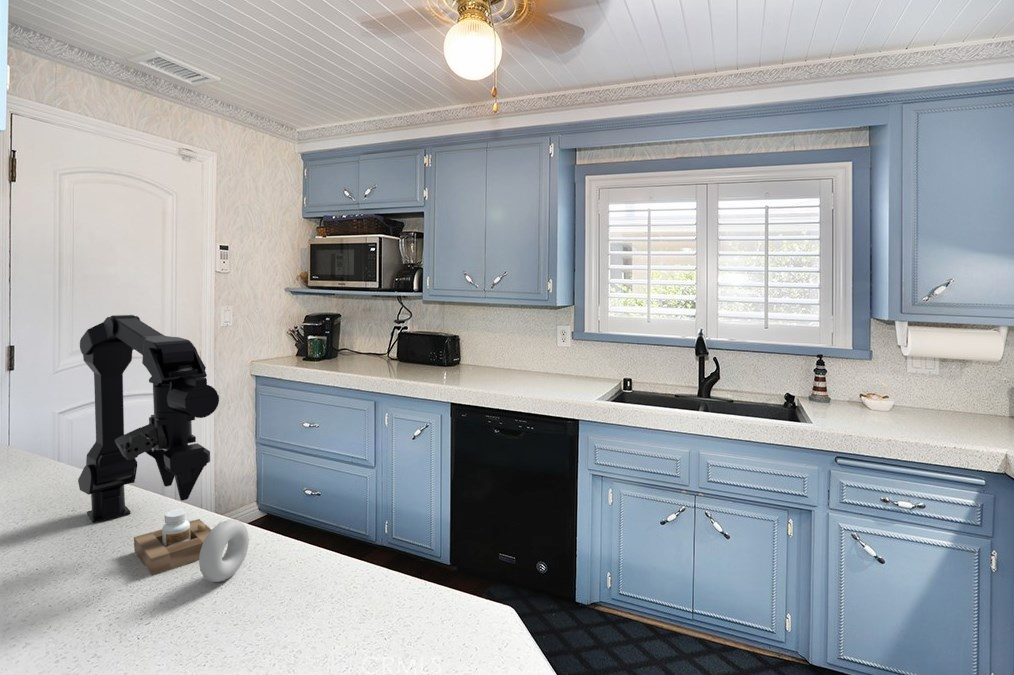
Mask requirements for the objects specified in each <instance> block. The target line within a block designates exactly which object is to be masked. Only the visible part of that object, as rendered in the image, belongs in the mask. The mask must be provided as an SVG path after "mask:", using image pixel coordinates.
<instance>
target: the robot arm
mask: <svg viewBox="0 0 1014 675" xmlns="http://www.w3.org/2000/svg"><path fill="white" fill-rule="evenodd" d="M79 350H80V352H81V354H82V357H83V362H84V363H85V364H86V365H87V367H88V368H89V369H90V370H91V371H92V373H93V381H94V383H93V384H94V414H95V415H94V416H95V417H94V418H95V419H94V420H95V442H94V444H93V446H92V447H91V448H90V450H89V451H88V452H87V453H86V459H85V460H86V461H85V462H86V463H85V466H84V467H83V469H82V471H81V473H80V475H79V477H78V480H77V483H78V487H79V489H78V490H80V491H81V492H83V493H85V494H87V495H88V496H89V495H90V498H91V501H90V502H91V503H90V504H91V510H88V511H87V512H86V514H87V516H88V517H89V519H90V520H91V521H92V523H99V522H103V521H106V520H110V519H115V518H119V517H124V516H127V515H130V514H131V510H130V509H129V508H128V506H126V496H125V485H129V484H134V483H136V478H137V470H138V461H137V460H136V458H138V457H139V455H142V454H143V453H146V454H147V455H149V456H150V457H152V458H153V459H154V460H155V463H156V466H157V468H158V471H159V475H160V478H161V480H162V483H163V486H164V487H170V486H172V485H173V482H174V479H175V484H176V487H177V492H178V495H179V496H178V497H179V499H180V501H181V502H182V501H186V500H188V499H189V498H190V495H191V493H192V492H193V489H194V487H195V485H196V483H197V480H198V478H199V477H200V475H201V473H202V471H203V470H204V468H205V467H206V466H207V465H208V464H209V463H210V462H211V451H210V450H209V449H207V448H205V447H204V446H203V445H202V444H200V443H196V442H197V441H196V440H197V438H196V436H195V435H194V434H193V429H192V424H193V423H192V422H193V421H196V419H204V418H207V417H208V416H211V415H212V414H213V413H214V412H215V411H216V410H217V408H218V406H219V402H220V395H219V394H218V391H217V390H216V389H215V387H213V386H212V385H209V384H208V379H207V377H208V375H207V372H206V365H205V363H204V362H203V361H202V358H201V357H200V355H199V352H198V350H197V348H196V347H195V345H194V344H193V342H192V341H190V340H189V339H187V338H182V337H179V336H168V335H164V334H163V333H161V332H159V330H156V329H155V328H153V327H151V326H149V325H148V324H146V323H145V322H143V321H142V320H141V319H140V317H139V316H138V315H134V314H118V315H110V316H107V317H106V318H105V319H104V320H103V322H101V323H99V324H96V325H94V326H92V327H89V328H88V329H86V331H85V332H84V334H83V335H82V336H81V338H80V340H79ZM134 350H135V351H136V352H138V353H139V354H140V355H141V356H142V359H141V360H142V362H141V363H142V365H143V366H144V367H145V368H146V370H147V372H148V373H149V374H150V376H151V377H149V378H148V383H150V384H152V394H153V396H152V398H153V400H152V401H153V414H151V415H150V417H149V416H148V424H145V425H144V426H141V427H138V428H136V429H134V430H132V431H130V432H127V433H125V418H124V416H125V414H124V409H125V408H124V372H125V371H126V370H127V368H128V366H130V364H131V363H132V360H133V351H134Z"/></svg>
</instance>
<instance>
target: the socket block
mask: <svg viewBox="0 0 1014 675" xmlns="http://www.w3.org/2000/svg"><path fill="white" fill-rule="evenodd" d="M188 522H189V523H190V540H188V541H185V542H181V543H178V544H175V545H171V546H168V547H164V546H163V539H162V528H161V529H159V530H154V531H152V532H147V533H144V534H141V535H136V536H134V537H133V544H134V546H133V547H134V554H135V555H136V557H138V559H139V560H140V562H141V563H142V564H143V566H144V567H145V568H146V569H147V571H148V572H149V574H150V575H151V576H154V575H157V574H161V573H164V572H167V571H169V570H173V569H176V568H179V567H181V566H185V565H188V564H192V563H194V562H197V561H199V556H200V551H201V548H202V544H203V543H204V541H205V539H206V537H207V535H208V534H209V533H210V531H211V530H212V529H211V528H210V526H208V525H207V524H205V523H204V522H203V521H202V520H201V519H200V518H197V519H194V520H191V521H188Z"/></svg>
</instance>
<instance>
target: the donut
mask: <svg viewBox="0 0 1014 675" xmlns="http://www.w3.org/2000/svg"><path fill="white" fill-rule="evenodd" d="M249 535H250V534H249V531H248V528H247V527H246V525H245V524H244V523H243V522H242V521H241V520H238V519H227V520H224V521H221V522H219V523H218V524H217V525H215V526H214V527H213V528H212V529H211V531H210V533H209V534H208V535H207V537H206V539H205V541H204V543H203V544H202V548H201V551H200V556H199V560H198V563H199V571H200V572H201V575H202V577H203V578H204V579H206V580H207V581H210V582H212V583H213V582H214V583H217V582H223V581H226V580H227V579H229V578H231V577H232V576H233V575H235V573H236V572H238V571H239V569H240V568H241V566H242V564H243V563H244V561H245V558H246V556H247V554H248V549H249V545H250V538H249V537H250V536H249ZM226 546H227V547H226ZM225 547H226V551H225V554H224V555H223V553H224V550H225Z"/></svg>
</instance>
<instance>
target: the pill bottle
mask: <svg viewBox="0 0 1014 675" xmlns="http://www.w3.org/2000/svg"><path fill="white" fill-rule="evenodd" d="M187 513H188V512H187V510H186V508H185V509H184V508H176V509H175V508H174V509H171V510H168V511H167V512H165V514H164V523H165V524H164V525H163V526H162V528H161V529H162V539H163V546H164V547H168V546H171V545H175V544H178V543H181V542H185V541H188V540H190V523H189V522H190V521H188V520H187V519H188V518H187V516H188V515H187Z"/></svg>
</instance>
